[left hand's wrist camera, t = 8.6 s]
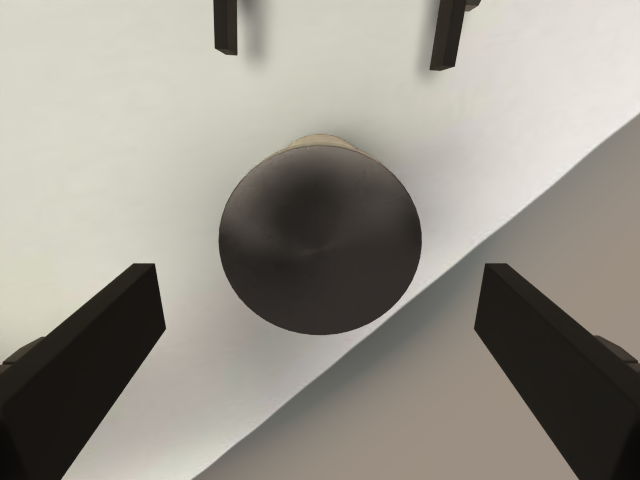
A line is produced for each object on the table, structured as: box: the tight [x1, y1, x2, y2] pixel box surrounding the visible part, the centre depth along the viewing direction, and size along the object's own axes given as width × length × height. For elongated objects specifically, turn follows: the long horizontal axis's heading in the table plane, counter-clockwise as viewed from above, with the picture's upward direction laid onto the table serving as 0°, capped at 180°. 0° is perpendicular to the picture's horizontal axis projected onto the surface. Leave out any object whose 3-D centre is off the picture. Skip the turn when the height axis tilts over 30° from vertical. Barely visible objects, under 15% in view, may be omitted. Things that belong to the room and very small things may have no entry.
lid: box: [219, 142, 422, 335], centre depth 18 cm, size 10×10×2 cm
